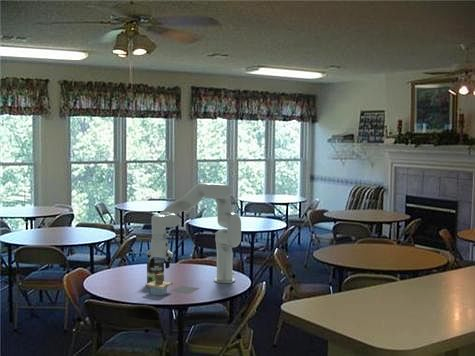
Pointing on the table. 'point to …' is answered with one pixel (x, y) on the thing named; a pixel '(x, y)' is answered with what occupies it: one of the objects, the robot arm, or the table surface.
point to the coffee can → (154, 270)
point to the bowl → (158, 291)
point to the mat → (185, 289)
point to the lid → (159, 282)
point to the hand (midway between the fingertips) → (160, 267)
